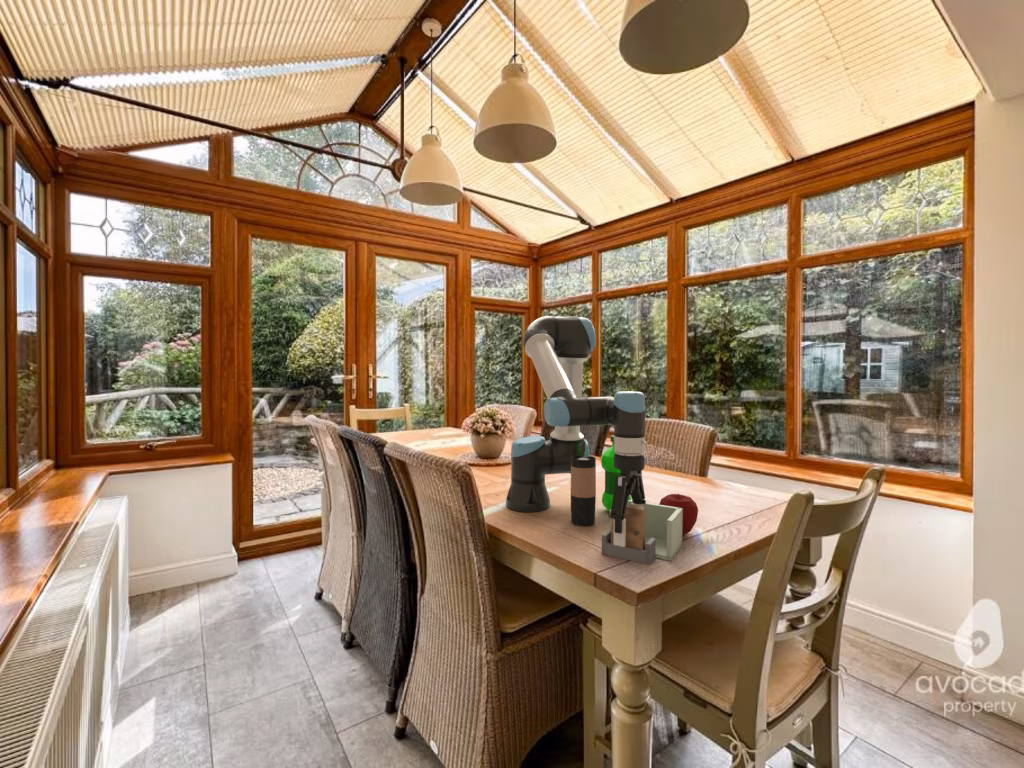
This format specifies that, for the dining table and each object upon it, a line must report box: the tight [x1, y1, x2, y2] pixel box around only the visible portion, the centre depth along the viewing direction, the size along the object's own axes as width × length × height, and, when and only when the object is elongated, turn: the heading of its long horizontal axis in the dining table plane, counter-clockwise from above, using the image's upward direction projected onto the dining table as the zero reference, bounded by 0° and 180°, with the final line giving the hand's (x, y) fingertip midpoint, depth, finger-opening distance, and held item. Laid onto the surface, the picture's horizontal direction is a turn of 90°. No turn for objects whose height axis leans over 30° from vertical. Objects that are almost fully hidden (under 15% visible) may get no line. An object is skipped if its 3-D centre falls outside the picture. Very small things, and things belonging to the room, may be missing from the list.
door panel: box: [611, 505, 645, 550], centre depth 118 cm, size 8×3×13 cm, turn 58°
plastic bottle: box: [600, 434, 632, 513], centre depth 155 cm, size 10×10×25 cm
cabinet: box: [601, 499, 683, 566], centre depth 123 cm, size 16×17×10 cm
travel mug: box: [570, 455, 597, 527], centre depth 144 cm, size 8×8×20 cm
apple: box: [658, 493, 699, 537], centre depth 134 cm, size 11×11×12 cm
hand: (628, 536), depth 118 cm, fingers open, 13 cm apart
